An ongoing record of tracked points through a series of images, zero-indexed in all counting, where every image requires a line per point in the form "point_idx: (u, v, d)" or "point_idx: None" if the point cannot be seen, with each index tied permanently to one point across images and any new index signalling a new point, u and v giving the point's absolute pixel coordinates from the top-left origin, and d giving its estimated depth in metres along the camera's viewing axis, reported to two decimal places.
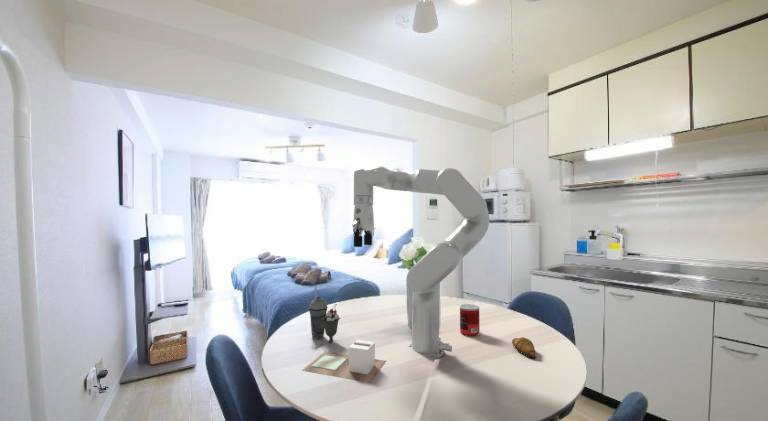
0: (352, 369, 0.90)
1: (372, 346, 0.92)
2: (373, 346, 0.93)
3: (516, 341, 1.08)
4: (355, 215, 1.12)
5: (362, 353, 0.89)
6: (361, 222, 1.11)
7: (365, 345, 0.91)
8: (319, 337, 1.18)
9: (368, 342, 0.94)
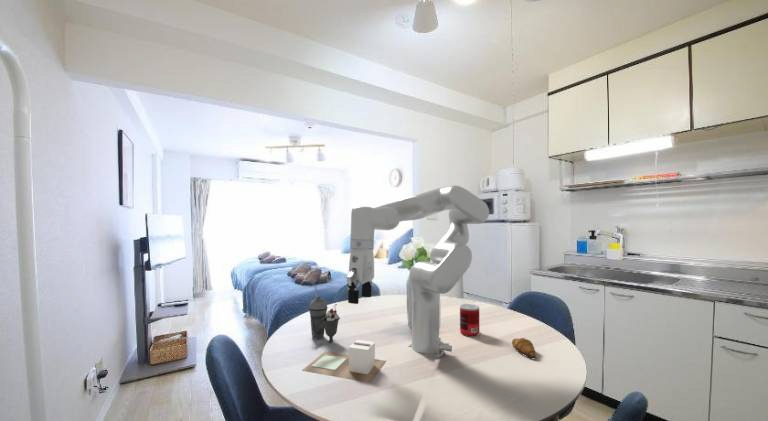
0: (352, 369, 0.90)
1: (372, 346, 0.92)
2: (373, 346, 0.93)
3: (516, 342, 1.08)
4: (351, 264, 0.92)
5: (362, 353, 0.89)
6: (358, 273, 0.91)
7: (365, 345, 0.91)
8: (319, 337, 1.18)
9: (368, 342, 0.94)
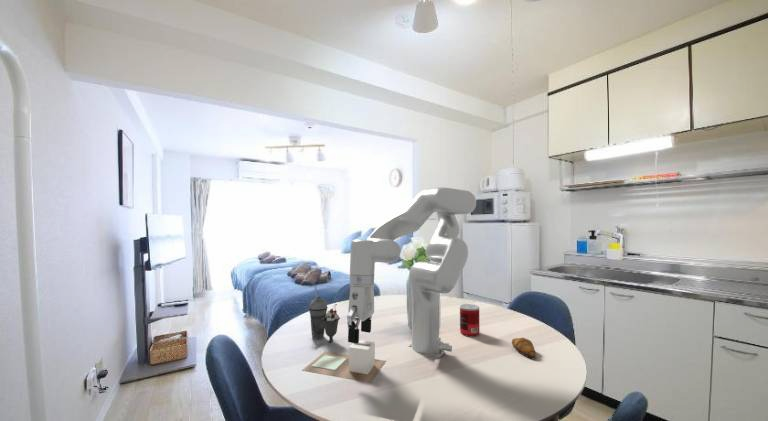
0: (352, 369, 0.90)
1: (372, 346, 0.92)
2: (373, 346, 0.93)
3: (516, 341, 1.08)
4: (351, 301, 0.88)
5: (362, 353, 0.89)
6: (358, 311, 0.87)
7: (365, 345, 0.91)
8: (319, 337, 1.18)
9: (368, 342, 0.94)
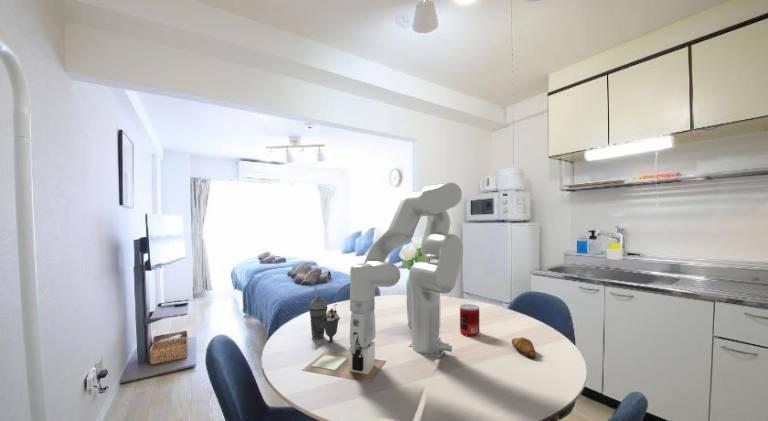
0: (352, 369, 0.90)
1: (372, 346, 0.92)
2: (373, 346, 0.93)
3: (516, 341, 1.08)
4: (352, 328, 0.88)
5: (362, 353, 0.89)
6: (359, 338, 0.87)
7: None
8: (319, 337, 1.18)
9: None
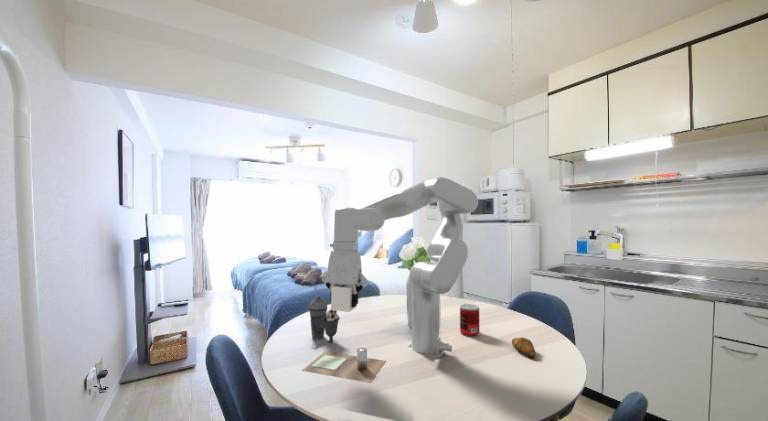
0: None
1: (343, 289, 0.91)
2: (346, 290, 0.91)
3: (516, 341, 1.08)
4: None
5: None
6: None
7: (341, 285, 0.93)
8: (319, 337, 1.18)
9: (349, 286, 0.93)
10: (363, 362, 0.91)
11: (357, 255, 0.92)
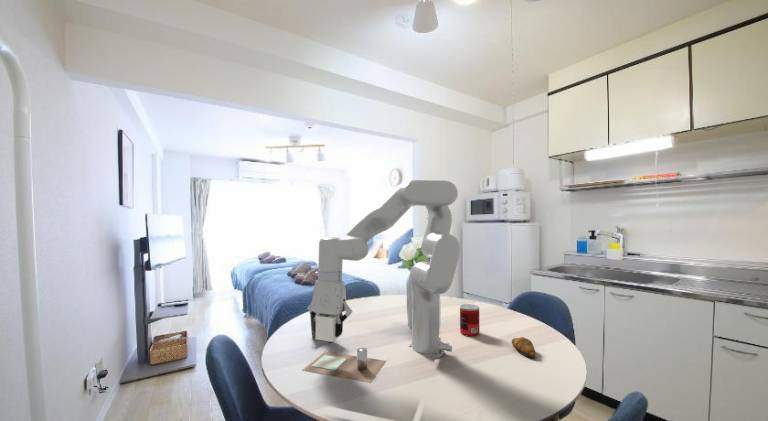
0: None
1: (327, 319, 0.93)
2: (329, 320, 0.92)
3: (516, 341, 1.08)
4: None
5: None
6: None
7: (325, 315, 0.95)
8: None
9: (333, 316, 0.94)
10: (363, 362, 0.91)
11: (341, 285, 0.94)
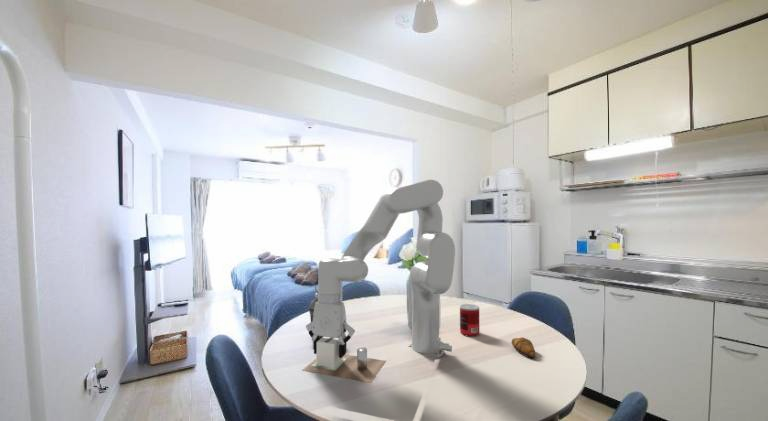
0: None
1: (328, 345, 0.92)
2: (330, 346, 0.92)
3: (516, 341, 1.08)
4: None
5: None
6: None
7: (326, 340, 0.95)
8: (319, 337, 1.18)
9: (334, 341, 0.94)
10: (363, 362, 0.91)
11: (341, 307, 0.93)
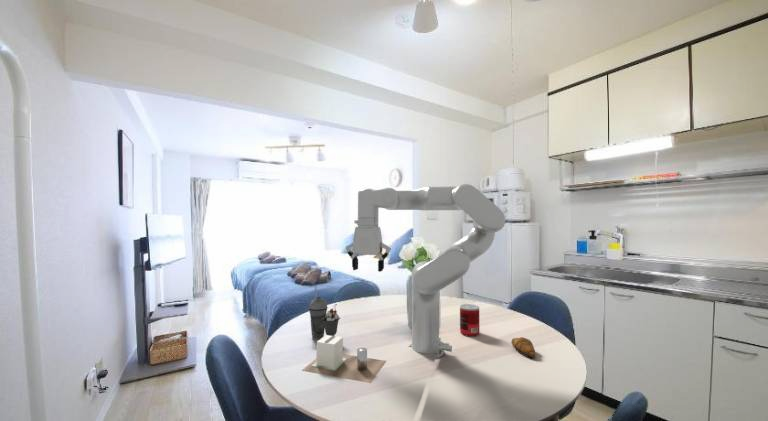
0: None
1: (328, 345, 0.92)
2: (330, 346, 0.92)
3: (516, 341, 1.08)
4: None
5: None
6: None
7: (326, 340, 0.95)
8: (319, 337, 1.18)
9: (334, 341, 0.94)
10: (363, 362, 0.91)
11: (378, 229, 1.07)
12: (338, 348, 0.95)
